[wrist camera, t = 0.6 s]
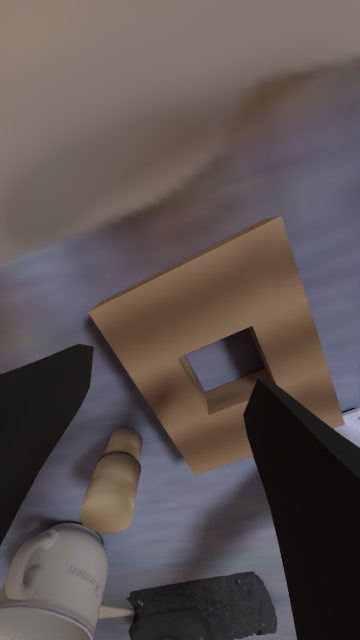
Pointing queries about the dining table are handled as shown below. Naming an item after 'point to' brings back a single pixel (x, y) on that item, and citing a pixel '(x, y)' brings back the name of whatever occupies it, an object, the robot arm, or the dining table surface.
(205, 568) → the dining table surface
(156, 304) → the board
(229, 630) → the dark slate chunk
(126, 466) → the peg
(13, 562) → the teacup
